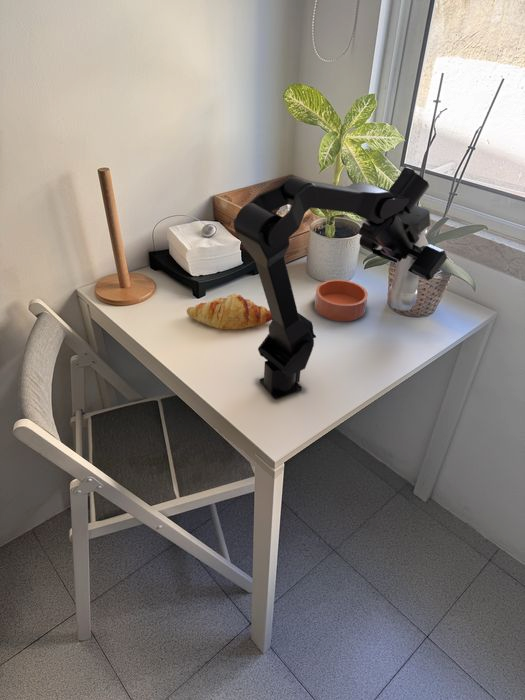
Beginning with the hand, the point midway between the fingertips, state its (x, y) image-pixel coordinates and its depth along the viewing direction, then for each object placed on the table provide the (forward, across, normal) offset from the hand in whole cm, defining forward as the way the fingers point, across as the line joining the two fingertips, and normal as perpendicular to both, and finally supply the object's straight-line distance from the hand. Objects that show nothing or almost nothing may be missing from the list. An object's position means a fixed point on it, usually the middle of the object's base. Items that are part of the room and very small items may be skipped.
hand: (412, 267), depth 112 cm
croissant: (-10, +26, +34) cm, 43 cm away
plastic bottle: (+6, 0, +8) cm, 10 cm away
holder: (+8, +15, +15) cm, 23 cm away
